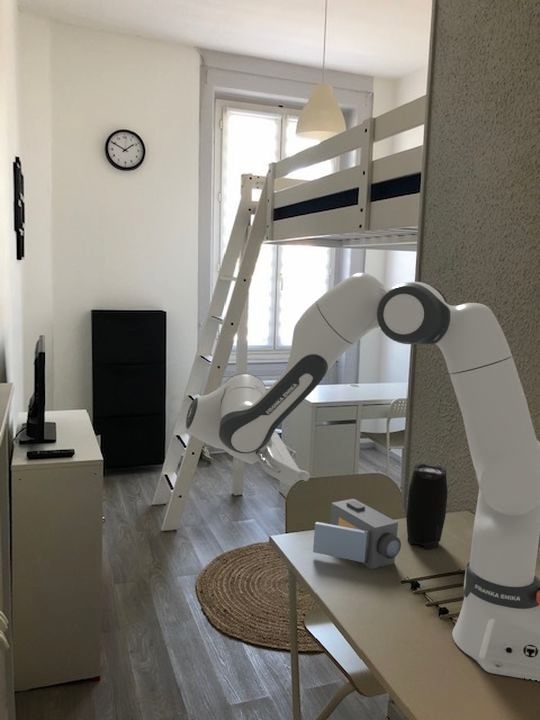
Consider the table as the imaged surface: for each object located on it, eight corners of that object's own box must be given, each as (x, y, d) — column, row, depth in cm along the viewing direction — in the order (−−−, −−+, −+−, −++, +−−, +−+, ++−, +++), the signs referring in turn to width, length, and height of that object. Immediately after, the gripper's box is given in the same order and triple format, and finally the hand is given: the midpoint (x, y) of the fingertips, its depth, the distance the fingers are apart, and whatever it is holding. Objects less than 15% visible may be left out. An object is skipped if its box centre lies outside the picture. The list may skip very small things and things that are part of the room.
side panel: (367, 561, 139) (370, 531, 138) (366, 563, 138) (369, 533, 137) (314, 550, 143) (316, 521, 142) (313, 552, 142) (315, 523, 141)
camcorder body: (402, 568, 140) (406, 523, 138) (379, 574, 136) (383, 529, 134) (350, 535, 155) (353, 495, 154) (328, 541, 152) (331, 499, 150)
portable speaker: (399, 535, 157) (406, 462, 155) (433, 535, 159) (441, 462, 156) (411, 550, 149) (419, 473, 146) (447, 550, 150) (455, 473, 148)
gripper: (271, 452, 124) (324, 478, 129) (249, 412, 143) (296, 436, 148) (255, 477, 125) (308, 502, 130) (235, 434, 144) (282, 457, 149)
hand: (301, 466), depth 139 cm, fingers open, 8 cm apart
